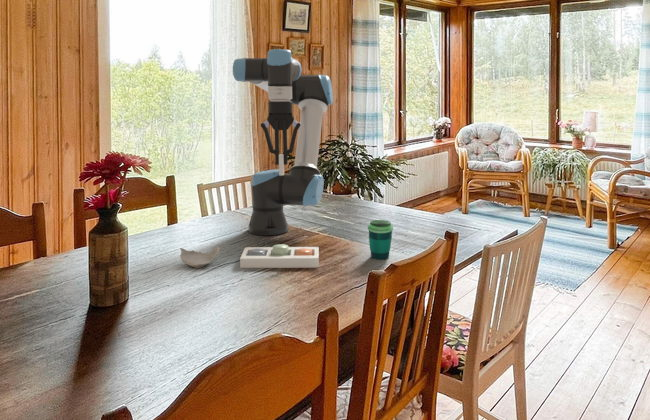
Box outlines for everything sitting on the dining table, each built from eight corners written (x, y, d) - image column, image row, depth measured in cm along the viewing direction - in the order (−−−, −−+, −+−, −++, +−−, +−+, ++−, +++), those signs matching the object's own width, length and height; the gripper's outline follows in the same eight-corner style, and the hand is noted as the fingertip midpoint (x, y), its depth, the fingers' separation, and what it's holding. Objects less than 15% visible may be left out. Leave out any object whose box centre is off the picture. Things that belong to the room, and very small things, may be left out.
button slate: (248, 262, 173) (248, 253, 172) (250, 257, 177) (249, 248, 177) (264, 262, 173) (264, 253, 172) (265, 257, 177) (265, 248, 177)
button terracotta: (296, 262, 173) (296, 253, 172) (296, 257, 178) (296, 248, 177) (312, 262, 173) (312, 253, 172) (312, 257, 178) (312, 248, 177)
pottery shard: (176, 264, 173) (175, 249, 172) (207, 257, 180) (206, 242, 179) (193, 272, 166) (192, 256, 164) (224, 264, 173) (224, 249, 172)
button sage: (272, 258, 172) (271, 248, 172) (273, 253, 177) (273, 244, 176) (288, 257, 172) (287, 248, 172) (289, 253, 177) (288, 244, 177)
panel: (240, 267, 169) (240, 258, 169) (245, 256, 181) (245, 247, 180) (318, 267, 169) (318, 258, 169) (318, 255, 181) (318, 246, 180)
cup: (394, 255, 181) (395, 220, 178) (389, 263, 173) (390, 226, 171) (370, 253, 184) (371, 218, 181) (364, 260, 176) (364, 224, 173)
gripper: (258, 101, 170) (260, 176, 175) (300, 100, 170) (301, 176, 175) (260, 100, 177) (262, 173, 182) (301, 100, 177) (302, 172, 182)
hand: (281, 174), depth 179 cm, fingers closed
